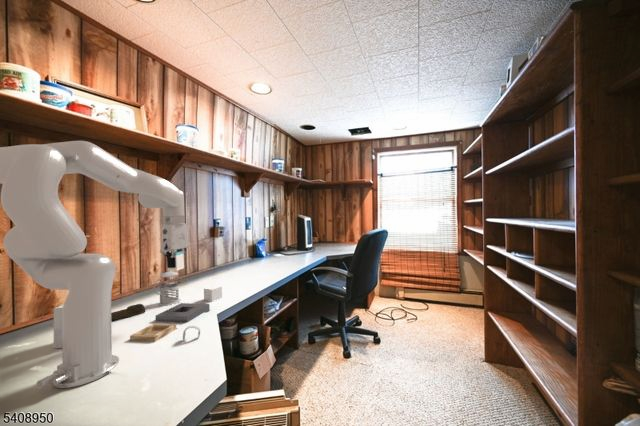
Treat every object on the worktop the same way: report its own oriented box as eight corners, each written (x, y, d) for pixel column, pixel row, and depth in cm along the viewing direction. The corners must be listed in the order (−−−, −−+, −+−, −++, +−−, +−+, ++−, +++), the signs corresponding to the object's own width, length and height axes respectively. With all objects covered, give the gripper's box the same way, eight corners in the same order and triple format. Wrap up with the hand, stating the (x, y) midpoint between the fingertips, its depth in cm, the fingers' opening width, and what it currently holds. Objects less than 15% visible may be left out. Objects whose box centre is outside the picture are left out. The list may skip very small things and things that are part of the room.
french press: (183, 302, 120) (182, 251, 121) (156, 308, 112) (155, 254, 112) (177, 298, 127) (177, 250, 128) (151, 304, 119) (150, 253, 119)
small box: (73, 347, 78) (72, 307, 79) (52, 348, 78) (52, 308, 78) (95, 335, 86) (95, 299, 87) (77, 336, 86) (76, 299, 86)
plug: (176, 270, 95) (176, 252, 95) (167, 270, 95) (167, 253, 95) (184, 268, 99) (183, 251, 99) (175, 268, 99) (174, 251, 99)
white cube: (212, 302, 119) (211, 289, 119) (204, 300, 122) (203, 288, 122) (222, 298, 124) (221, 286, 125) (214, 296, 127) (213, 285, 127)
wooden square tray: (154, 344, 78) (154, 337, 78) (128, 343, 80) (128, 336, 80) (177, 330, 88) (177, 324, 88) (153, 329, 90) (153, 323, 90)
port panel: (187, 324, 93) (187, 316, 93) (155, 323, 95) (155, 315, 95) (209, 310, 107) (209, 303, 107) (181, 309, 109) (181, 303, 109)
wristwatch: (183, 341, 80) (183, 326, 80) (200, 338, 82) (200, 323, 82) (182, 345, 77) (182, 329, 77) (199, 342, 79) (199, 326, 79)
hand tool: (86, 330, 92) (86, 317, 92) (85, 326, 95) (85, 314, 95) (146, 314, 106) (146, 304, 106) (144, 312, 108) (144, 302, 109)
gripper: (165, 221, 88) (168, 271, 88) (196, 219, 104) (198, 261, 105) (147, 222, 89) (150, 271, 89) (181, 220, 106) (182, 261, 106)
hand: (176, 265), depth 97 cm, fingers closed on plug, 3 cm apart
